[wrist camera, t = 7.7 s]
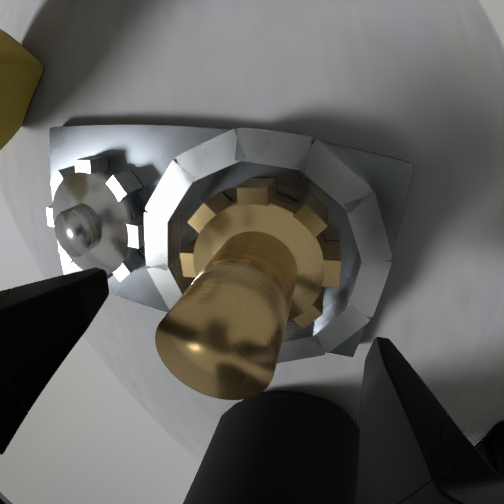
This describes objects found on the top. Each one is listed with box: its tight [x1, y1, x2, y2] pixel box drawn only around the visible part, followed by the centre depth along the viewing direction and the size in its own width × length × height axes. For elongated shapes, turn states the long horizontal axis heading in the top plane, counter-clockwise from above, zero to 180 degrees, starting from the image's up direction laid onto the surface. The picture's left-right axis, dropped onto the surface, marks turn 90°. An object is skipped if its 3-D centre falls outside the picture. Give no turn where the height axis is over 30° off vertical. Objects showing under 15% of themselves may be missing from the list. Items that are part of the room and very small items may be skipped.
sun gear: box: [46, 155, 145, 282], centre depth 14 cm, size 7×7×3 cm
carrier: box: [50, 124, 414, 363], centre depth 14 cm, size 19×10×2 cm, turn 84°
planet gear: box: [155, 178, 341, 400], centre depth 10 cm, size 6×6×7 cm
